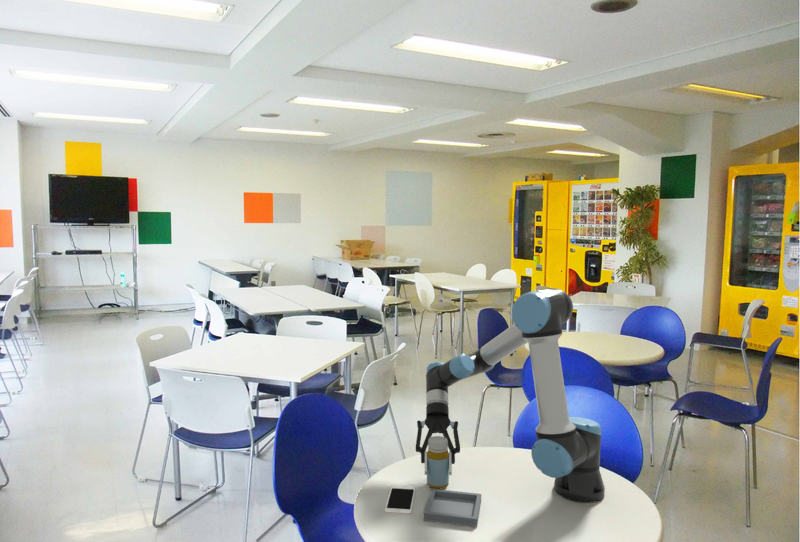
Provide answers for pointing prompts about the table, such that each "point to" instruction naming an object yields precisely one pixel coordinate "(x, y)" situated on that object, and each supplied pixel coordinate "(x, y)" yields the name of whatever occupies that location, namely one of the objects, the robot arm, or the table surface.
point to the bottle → (437, 462)
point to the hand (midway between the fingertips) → (438, 473)
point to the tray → (453, 507)
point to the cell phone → (400, 500)
